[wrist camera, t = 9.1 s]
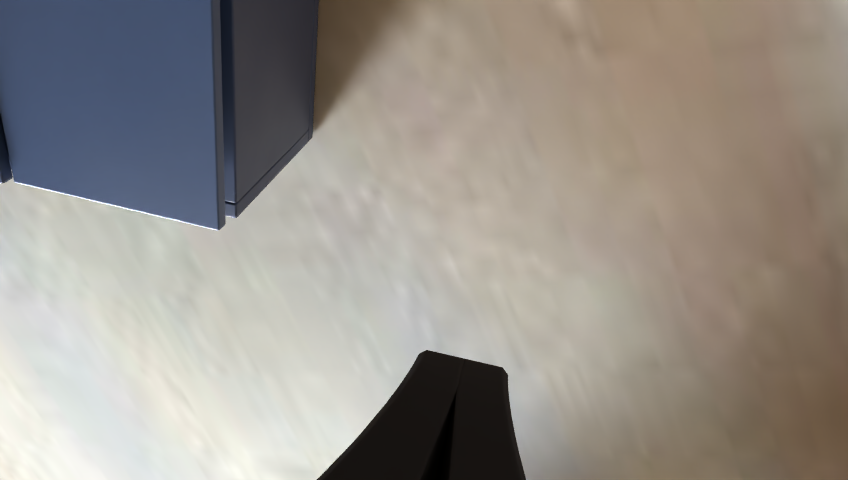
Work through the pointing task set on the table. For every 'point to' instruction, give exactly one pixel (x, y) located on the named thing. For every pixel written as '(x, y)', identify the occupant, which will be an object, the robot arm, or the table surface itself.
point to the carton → (257, 93)
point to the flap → (117, 103)
